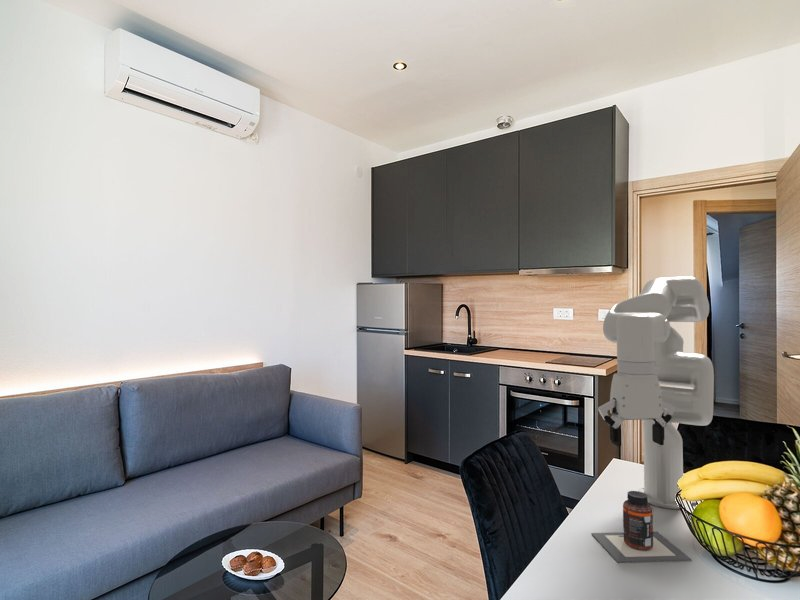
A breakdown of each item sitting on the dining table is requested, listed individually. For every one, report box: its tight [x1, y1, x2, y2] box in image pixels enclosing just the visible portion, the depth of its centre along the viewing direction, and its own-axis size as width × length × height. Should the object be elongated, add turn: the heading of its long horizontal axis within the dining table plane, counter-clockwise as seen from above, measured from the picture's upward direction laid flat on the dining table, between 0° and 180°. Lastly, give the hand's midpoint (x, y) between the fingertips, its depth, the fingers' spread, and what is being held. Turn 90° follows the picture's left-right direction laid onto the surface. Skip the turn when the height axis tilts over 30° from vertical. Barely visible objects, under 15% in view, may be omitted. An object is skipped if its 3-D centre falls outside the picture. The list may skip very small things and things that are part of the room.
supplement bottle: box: [622, 490, 654, 550], centre depth 101 cm, size 6×6×11 cm
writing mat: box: [591, 530, 693, 564], centre depth 101 cm, size 16×12×1 cm
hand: (637, 443), depth 101 cm, fingers open, 9 cm apart
